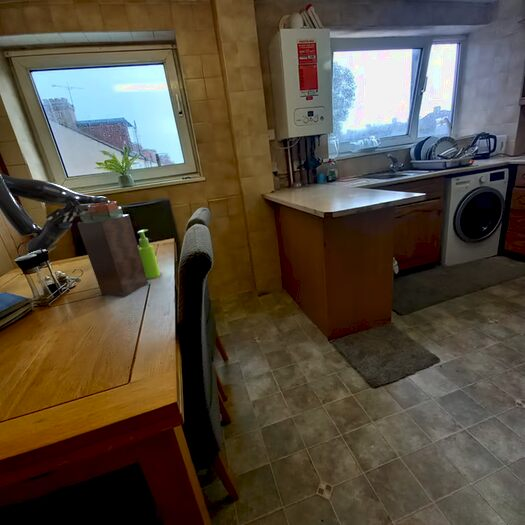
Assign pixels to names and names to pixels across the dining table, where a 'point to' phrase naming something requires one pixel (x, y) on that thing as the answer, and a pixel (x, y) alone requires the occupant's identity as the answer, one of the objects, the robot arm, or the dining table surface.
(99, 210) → the brown handled piece
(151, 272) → the soap dispenser
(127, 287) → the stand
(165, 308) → the dining table surface
